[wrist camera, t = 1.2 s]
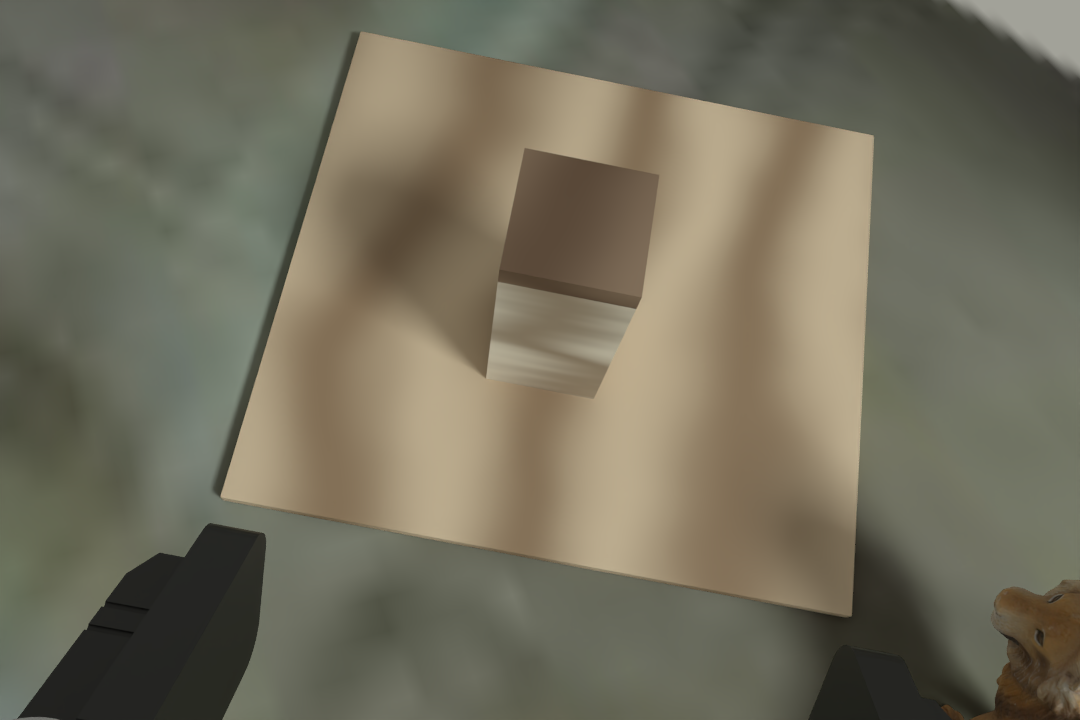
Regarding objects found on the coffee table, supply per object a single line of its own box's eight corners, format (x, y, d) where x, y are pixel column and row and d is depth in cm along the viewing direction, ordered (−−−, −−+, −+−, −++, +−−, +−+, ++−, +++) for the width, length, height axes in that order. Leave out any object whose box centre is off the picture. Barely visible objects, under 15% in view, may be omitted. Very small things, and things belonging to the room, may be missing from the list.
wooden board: (869, 142, 40) (873, 135, 39) (845, 617, 33) (851, 616, 32) (361, 39, 39) (360, 31, 39) (223, 500, 32) (220, 497, 32)
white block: (609, 301, 36) (659, 174, 27) (593, 399, 34) (641, 297, 26) (506, 281, 35) (524, 147, 27) (486, 378, 34) (499, 269, 26)
